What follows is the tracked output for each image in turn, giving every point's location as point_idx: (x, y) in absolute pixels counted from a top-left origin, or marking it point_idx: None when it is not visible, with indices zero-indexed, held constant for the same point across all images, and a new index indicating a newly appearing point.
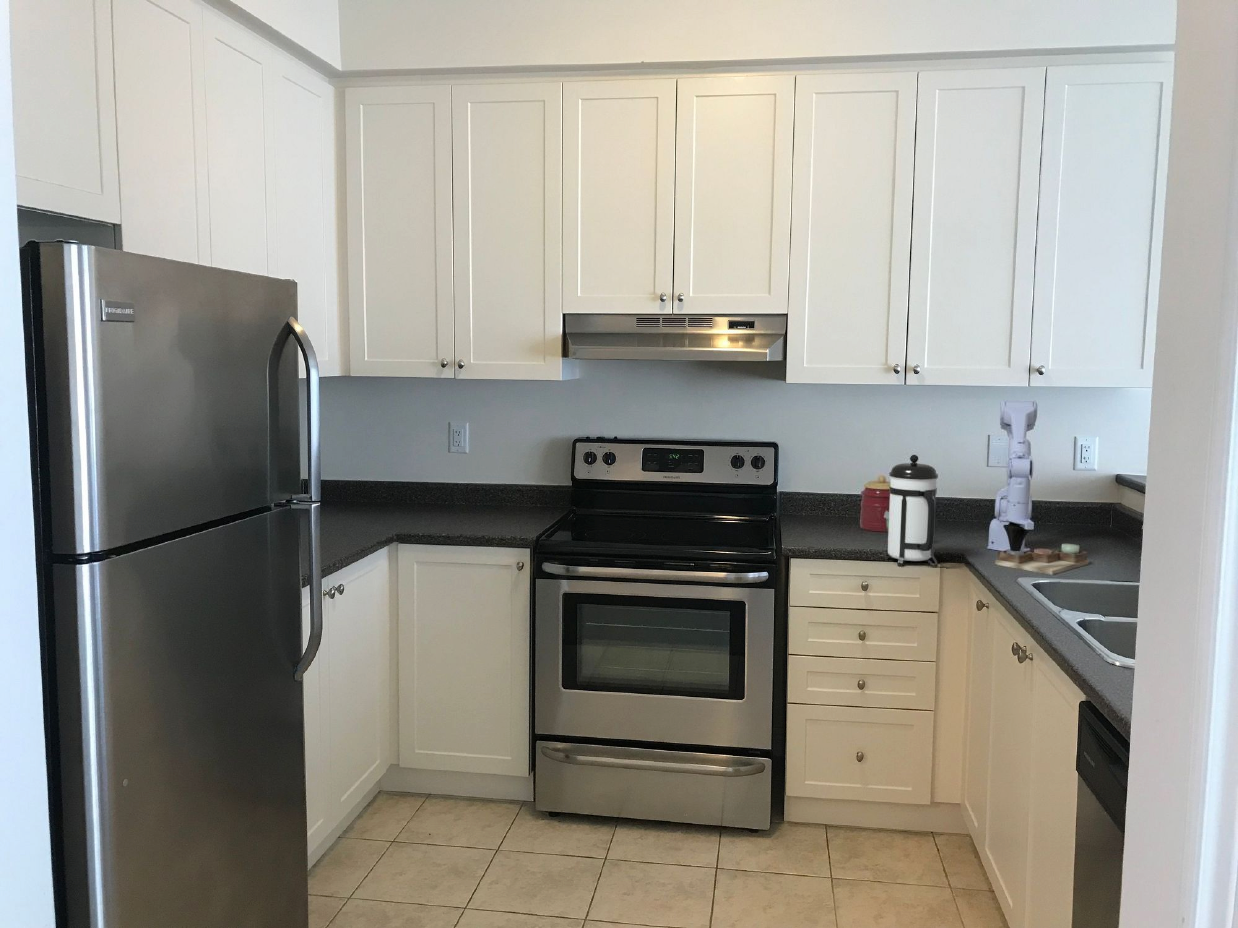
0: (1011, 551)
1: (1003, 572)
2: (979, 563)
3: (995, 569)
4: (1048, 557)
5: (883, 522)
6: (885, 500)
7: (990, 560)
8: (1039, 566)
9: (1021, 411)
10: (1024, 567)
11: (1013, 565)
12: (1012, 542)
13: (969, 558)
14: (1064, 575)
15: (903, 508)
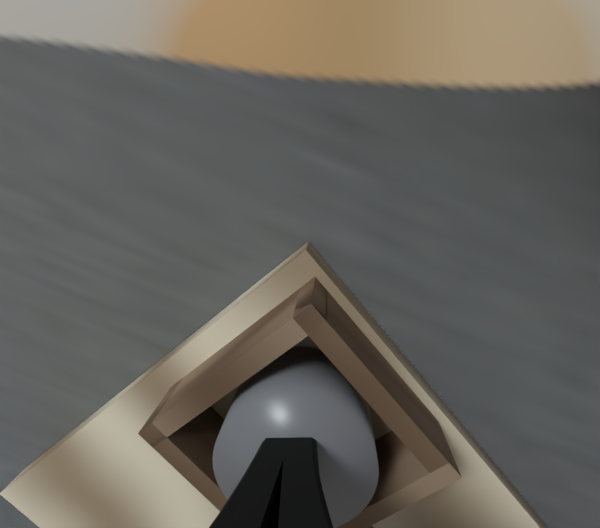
0: (244, 417)
1: (21, 193)
2: (344, 113)
3: (117, 170)
4: None
5: None
6: None
7: (463, 263)
8: (102, 472)
9: None
10: (129, 386)
11: (189, 339)
12: (220, 515)
13: (576, 92)
14: (29, 521)
15: None
